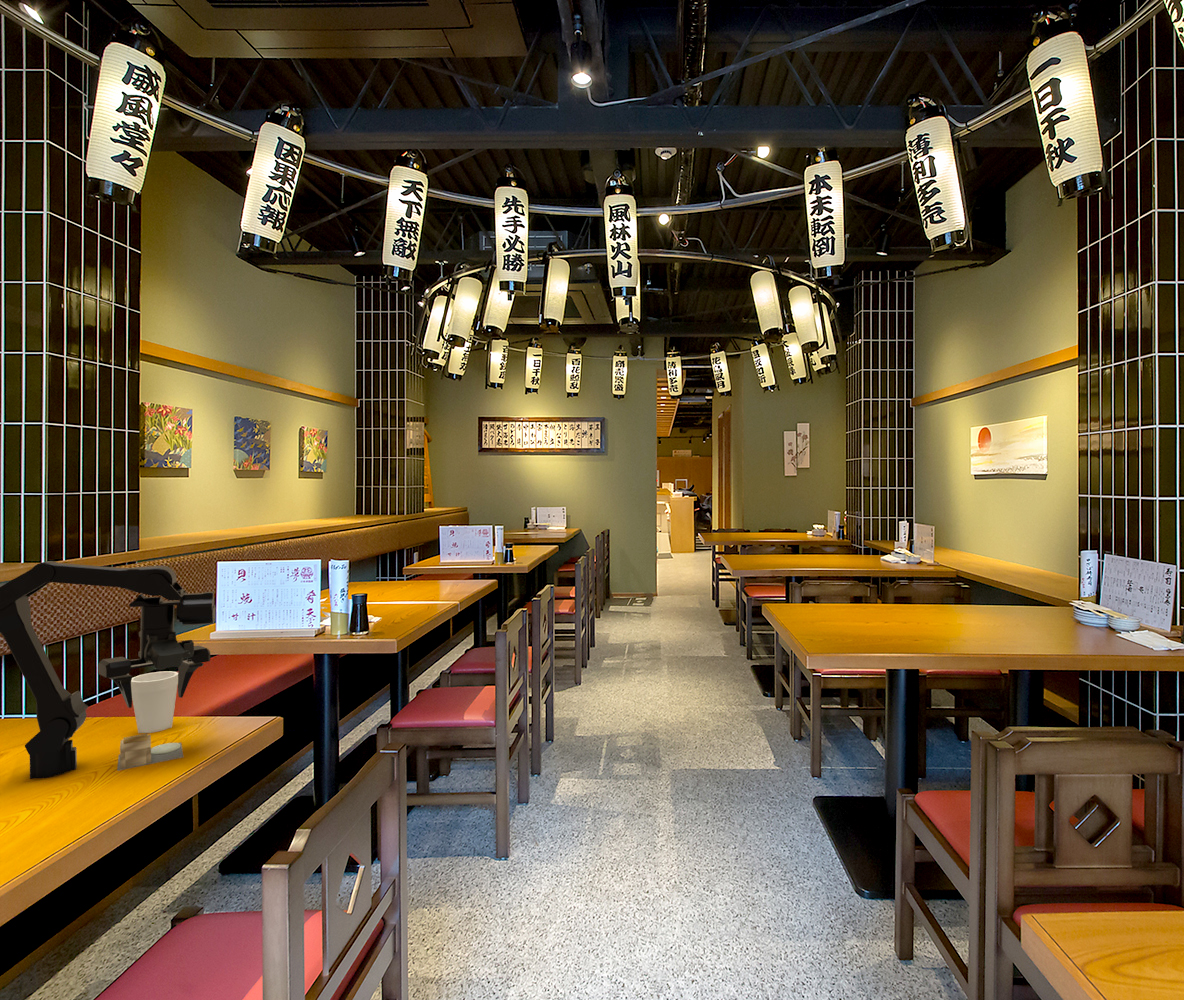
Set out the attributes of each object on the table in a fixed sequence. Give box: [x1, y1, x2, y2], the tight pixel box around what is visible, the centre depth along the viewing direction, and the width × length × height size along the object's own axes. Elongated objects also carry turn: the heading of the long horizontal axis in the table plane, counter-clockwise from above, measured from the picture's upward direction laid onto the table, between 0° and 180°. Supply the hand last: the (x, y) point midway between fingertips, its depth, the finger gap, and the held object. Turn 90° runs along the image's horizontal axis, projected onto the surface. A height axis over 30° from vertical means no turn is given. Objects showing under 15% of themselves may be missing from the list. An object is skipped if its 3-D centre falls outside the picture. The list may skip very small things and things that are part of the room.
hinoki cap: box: [119, 733, 152, 769], centre depth 131 cm, size 5×5×5 cm
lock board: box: [116, 742, 184, 772], centre depth 134 cm, size 11×10×4 cm
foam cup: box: [131, 670, 178, 734], centre depth 151 cm, size 10×9×13 cm
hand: (155, 702), depth 134 cm, fingers open, 9 cm apart
